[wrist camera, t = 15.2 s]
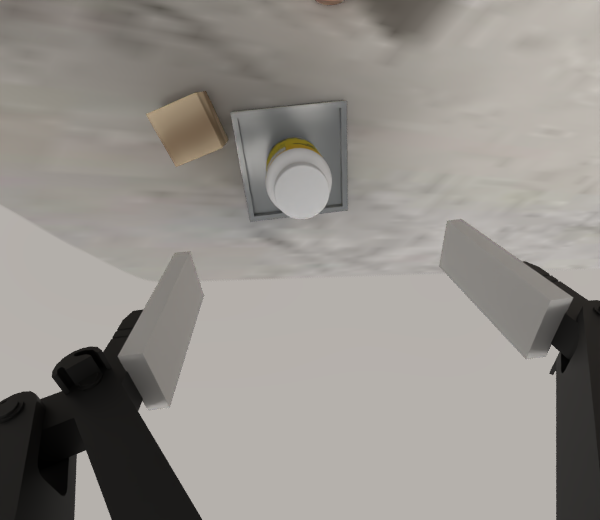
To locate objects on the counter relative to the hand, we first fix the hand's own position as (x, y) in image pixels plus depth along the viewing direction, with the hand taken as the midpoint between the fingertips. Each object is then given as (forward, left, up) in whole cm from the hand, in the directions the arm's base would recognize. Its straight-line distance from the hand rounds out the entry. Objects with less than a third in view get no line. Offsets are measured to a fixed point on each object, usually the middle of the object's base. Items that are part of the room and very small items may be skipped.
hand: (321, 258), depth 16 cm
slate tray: (0, 0, -23) cm, 23 cm away
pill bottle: (0, 0, -22) cm, 22 cm away
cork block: (-5, -10, -23) cm, 25 cm away
